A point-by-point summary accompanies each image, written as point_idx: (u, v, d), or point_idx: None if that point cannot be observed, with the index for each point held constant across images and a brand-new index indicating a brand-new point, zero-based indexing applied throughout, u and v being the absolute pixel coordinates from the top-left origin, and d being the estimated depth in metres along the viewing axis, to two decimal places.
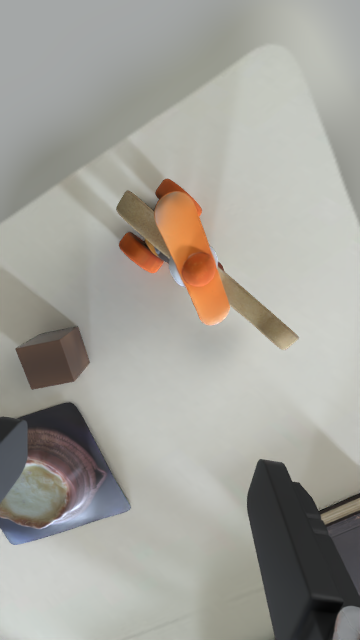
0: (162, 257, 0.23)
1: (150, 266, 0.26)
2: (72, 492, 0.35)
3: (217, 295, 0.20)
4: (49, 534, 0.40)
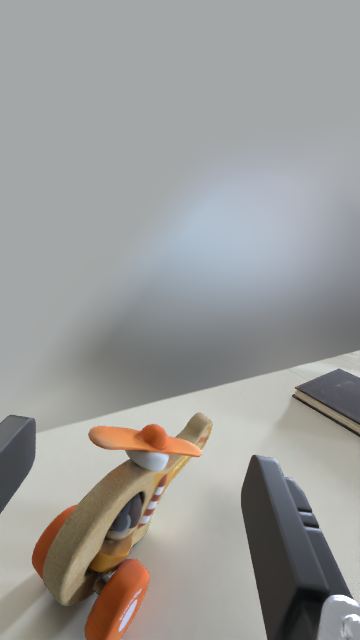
0: (134, 515, 0.20)
1: (141, 568, 0.19)
2: None
3: (173, 440, 0.23)
4: None
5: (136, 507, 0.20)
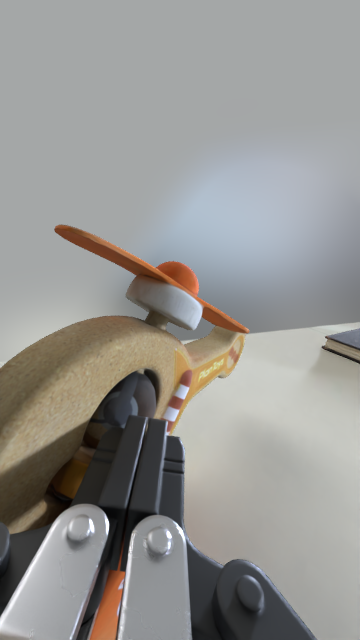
0: (145, 402, 0.11)
1: None
2: None
3: None
4: None
5: (147, 392, 0.11)
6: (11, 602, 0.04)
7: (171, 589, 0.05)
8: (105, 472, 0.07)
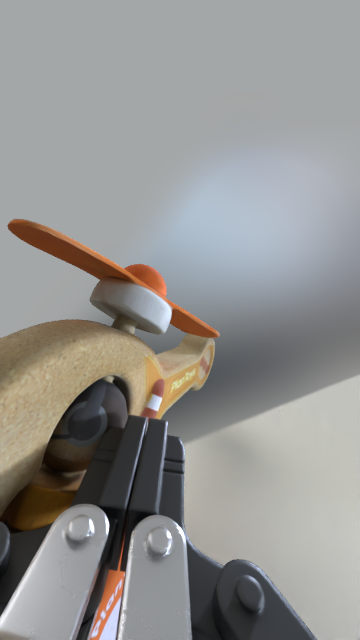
0: (115, 412, 0.10)
1: None
2: None
3: None
4: None
5: (117, 401, 0.10)
6: (11, 602, 0.04)
7: (171, 589, 0.05)
8: (105, 472, 0.07)
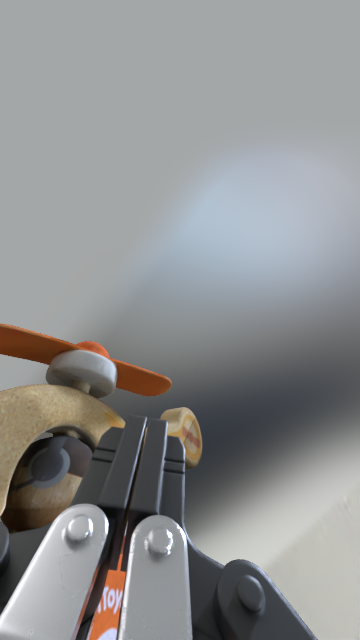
0: (77, 453, 0.11)
1: None
2: None
3: None
4: None
5: (80, 446, 0.11)
6: (12, 602, 0.04)
7: (172, 589, 0.05)
8: (105, 472, 0.07)
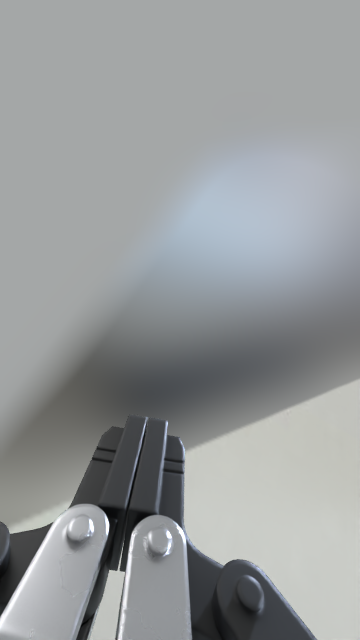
0: None
1: None
2: None
3: None
4: None
5: None
6: (11, 602, 0.04)
7: (171, 589, 0.05)
8: (105, 472, 0.07)
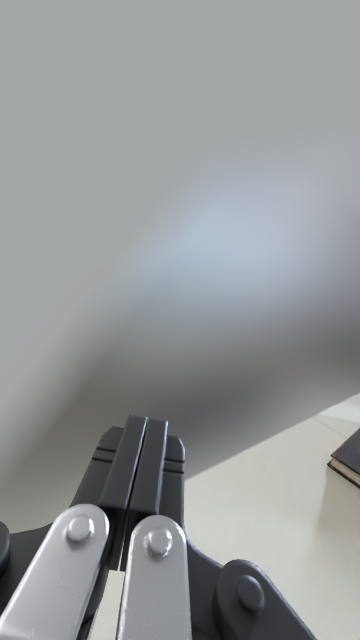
0: None
1: None
2: None
3: None
4: None
5: None
6: (11, 602, 0.04)
7: (171, 589, 0.05)
8: (105, 472, 0.07)
